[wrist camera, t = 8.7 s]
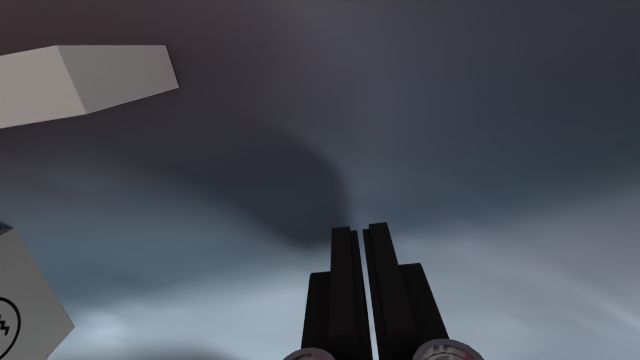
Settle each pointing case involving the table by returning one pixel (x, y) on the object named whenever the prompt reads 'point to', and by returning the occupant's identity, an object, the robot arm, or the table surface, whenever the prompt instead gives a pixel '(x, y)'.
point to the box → (79, 80)
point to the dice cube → (27, 305)
